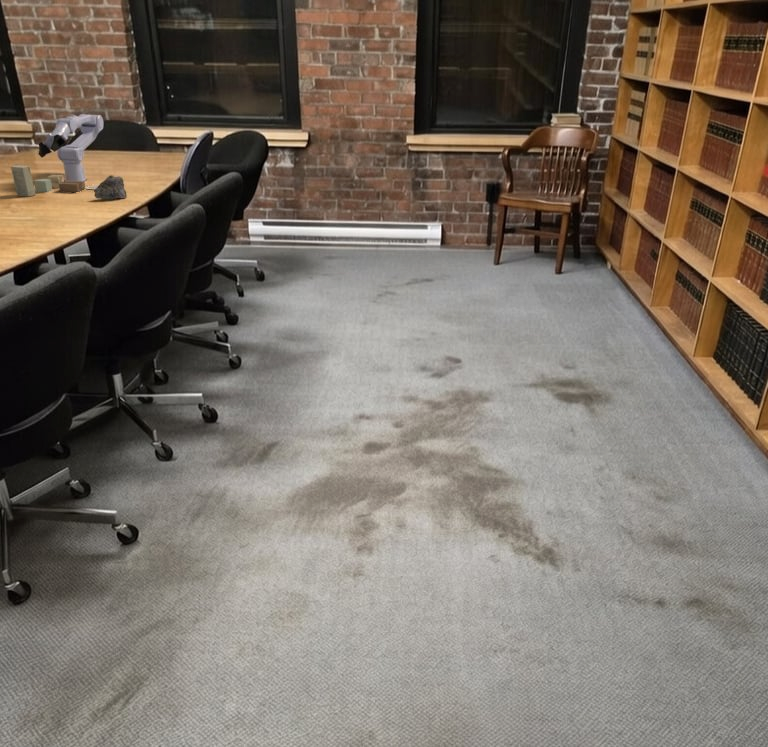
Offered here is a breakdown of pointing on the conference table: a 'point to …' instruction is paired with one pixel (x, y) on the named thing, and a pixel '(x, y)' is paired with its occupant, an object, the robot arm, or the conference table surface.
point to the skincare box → (23, 180)
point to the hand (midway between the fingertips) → (46, 152)
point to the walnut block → (71, 186)
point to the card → (91, 187)
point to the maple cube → (56, 180)
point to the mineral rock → (111, 188)
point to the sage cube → (43, 185)
